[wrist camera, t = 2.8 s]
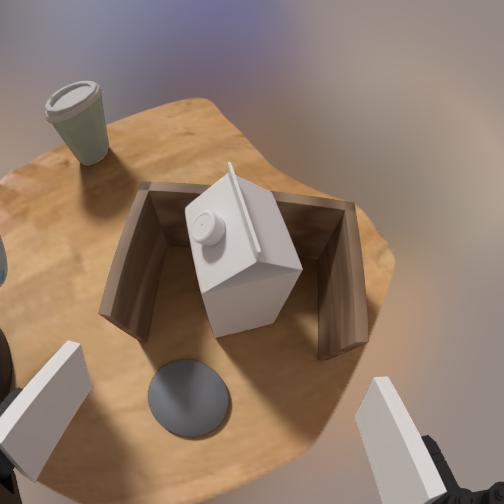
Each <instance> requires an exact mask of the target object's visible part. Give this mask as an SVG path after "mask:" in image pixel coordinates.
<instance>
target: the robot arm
mask: <svg viewBox="0 0 504 504" xmlns="http://www.w3.org/2000/svg"><path fill="white" fill-rule="evenodd" d="M6 276H7V257H6V252H5V248H4V245H3V242H2V239H1V236H0V287H1V285H2V284H3V283H4V281H5V279H6ZM10 384H11V358H10V352H9V347H8V344H7V341H6V338H5V336H4V334H3V332H2V330H1V329H0V504H22V501H21V498H20V493H19V489H18V485H17V480H16V476H15V473H14V471H13V469H14V467H16V469H17V470H18V471H19V472H20V473H21V474H22V475H24V476H26V477H27V478H29V479H30V480H32V481H33V482H36V480H37V478H38V476H39V474H40V473H41V471H42V469H43V467H44V465H45V464H46V462H47V460H48V458H49V457H50V455H51V453H52V452H53V450H54V448H55V446H56V445H57V443H58V441H59V440H60V438H61V436H62V435H63V433H64V431H65V430H66V428H67V427H68V425H69V423H70V422H71V420H72V419H73V417H74V415H75V414H76V412H77V411H78V409H79V407H80V406H81V404H82V403H83V401H84V400H85V398H86V397H87V395H88V394H89V392H90V390H91V389H92V387H93V386H92V383H91V380H90V376H89V373H88V370H87V366H86V362H85V359H84V355H83V351H82V347H81V344H79V343H76V342H72V341H69V340H68V341H67V342H66V343H65V344H64V345H63V346H62V347H61V348H60V349H59V350H58V351H57V353H56V354H55V355H54V356H53V357H52V358H51V359H50V360H49V361H48V362H47V363H46V364H45V365H44V367H43V368H42V369H41V370H40V371H39V372H38V373H37V374H36V375H35V377H34V378H33V379H32V380H31V381H30V382H29V383H28V385H27V386H26V387H25V388H24V389H21V388H17V389H16V390H14V391H12V392H10V393H9V389H10ZM8 393H9V395H8ZM355 420H356V423H357V426H358V429H359V432H360V434H361V437H362V440H363V443H364V446H365V449H366V452H367V455H368V458H369V461H370V464H371V468H372V471H373V474H374V477H375V480H376V483H377V487H378V490H379V493H380V496H381V500H382V503H383V504H504V482H497V483H495V484H494V485H493V486H492V487H490V489H488V490H484V491H478V492H471V491H470V490H468V489H464V488H460V487H459V486H458V484H457V482H456V480H455V478H454V476H453V474H452V472H451V470H450V468H449V466H448V464H447V462H446V461H445V460H444V456H443V454H442V453H441V450H440V449H439V447H438V445H437V443H436V442H435V441H434V440H433V439H432V438H431V437H430V436H429V435H426V436H422V437H421V436H420V435H419V433H418V431H417V429H416V427H415V425H414V423H413V421H412V419H411V417H410V416H409V414H408V412H407V410H406V408H405V406H404V404H403V403H402V401H401V399H400V397H399V395H398V394H397V392H396V390H395V388H394V386H393V385H392V383H391V381H390V379H389V378H388V376H384V377H374V378H373V379H372V382H371V384H370V386H369V388H368V390H367V393H366V395H365V397H364V399H363V401H362V403H361V405H360V407H359V409H358V411H357V413H356V415H355Z"/></svg>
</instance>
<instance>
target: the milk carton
mask: <svg viewBox="0 0 504 504" xmlns="http://www.w3.org/2000/svg"><path fill="white" fill-rule="evenodd" d="M185 216H186V222H187V228H188V233H189V239H190V244H191V249H192V254H193V259H194V264H195V269H196V274H197V278H198V283H199V287H200V291H201V295H202V298H203V302H204V305H205V308H206V312H207V315H208V318H209V322H210V325H211V328H212V331H213V334H214V337H215V338H217V337H222V336H226V335H230V334H234V333H238V332H242V331H246V330H250V329H254V328H258V327H262V326H266V325H269V324H273V323H274V321H275V320H276V318H277V316H278V314H279V312H280V311H281V309H282V307H283V305H284V303H285V301H286V300H287V298H288V296H289V294H290V292H291V290H292V289H293V287H294V285H295V283H296V281H297V279H298V277H299V275H300V274H301V272H302V270H303V268H302V266H301V263H300V260H299V258H298V255H297V253H296V250H295V248H294V245H293V243H292V240H291V238H290V235H289V233H288V230H287V228H286V225H285V223H284V220H283V218H282V215H281V213H280V211H279V208H278V206H277V203H276V201H275V199H274V196H273V194H272V192H270V191H268V190H266V189H264V188H262V187H260V186H258V185H256V184H253V183H251V182H249V181H247V180H245V179H243V178H240V177H238V176H236V175H235V173H234V170H233V167H232V164H231V162H228V173H227V174H226V175H225V176H224V177H222V178H221V179H220V180H218V181H217V182H216V183H215V184H213V185H212V186H211V187H210V188H208V189H207V190H206V191H205V192H203V193H202V194H201V195H200V196H199V197H197V198H196V199H195V200H194V201H193V202H191V203H190V204H189V205H188V206H187V207H186V208H185Z"/></svg>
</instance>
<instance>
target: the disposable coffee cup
mask: <svg viewBox="0 0 504 504" xmlns="http://www.w3.org/2000/svg"><path fill="white" fill-rule="evenodd" d="M101 91H102V89H101V87H100V86H99V85H98V84H96V83H94V82H93V81H80V82H76V83H73V84H70V85H67V86H66V87H64V88H62V89H60V90H58V91H57V92H56V93H55V94H53V95H52V96H51V97H50V99H49V100H48V101H47V103H46V105H45V108H46V111H45V115H46V119H47V121H48V122H49V123H52V124H53V126H54V127H55V129H56V130H57V132H58V133H59V135H60V136H61V137H62V139H63V140H64V142H65V143H66V144H67V146H68V147H69V149H70V150H71V151H72V153H73V154H74V155H75V157H76V158H77V159H78V161H79V162H80V163H81V164H83V165H86V166H90V165H93V164H97V163H98V162H99V161H101V160H102V159H104V157H105V156H106V155H107V153H108V148H109V142H108V136H107V130H106V124H105V118H104V110H103V103H102V96H101Z"/></svg>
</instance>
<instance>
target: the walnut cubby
mask: <svg viewBox="0 0 504 504" xmlns="http://www.w3.org/2000/svg"><path fill="white" fill-rule="evenodd" d="M211 186H212V185H200V184H185V183H167V182H144V181H142V182H141V185H140V187H139V190H138V192H137V195H136V197H135V200H134V202H133V205H132V207H131V210H130V212H129V215H128V218H127V221H126V223H125V226H124V229H123V232H122V235H121V237H120V240H119V243H118V246H117V249H116V252H115V256H114V259H113V262H112V265H111V269H110V272H109V275H108V279H107V282H106V286H105V290H104V293H103V297H102V301H101V305H100V309H99V313H98V314H100V315H101V316H102V317H104V318H105V319H107V320H108V321H110V322H111V323H112V324H114V325H115V326H117V327H118V328H120V329H121V330H123V331H124V332H126V333H127V334H129V335H130V336H132V337H133V338H135V339H137V340H139V341H144V342H147V339H148V334H149V328H150V323H151V318H152V312H153V307H154V302H155V298H156V293H157V288H158V284H159V279H160V275H161V271H162V266H163V262H164V258H165V254H166V250H167V246H168V245H175V246H185V247H191V244H190V239H189V233H188V228H187V222H186V216H185V208H186V207H187V206H188V205H189V204H190V203H191V202H193V201H194V200H195V199H196V198H197V197H199V196H200V195H201V194H202V193H203V192H205V191H206V190H207V189H208V188H210V187H211ZM270 192H272V194H273V196H274V199H275V201H276V203H277V206H278V208H279V211H280V213H281V215H282V218H283V220H284V223H285V225H286V228H287V230H288V233H289V235H290V238H291V240H292V243H293V245H294V248H295V250H296V253H297V255H298V258H303V259H313V260H317V267H318V360H328V359H331V358H333V357H336V356H338V355H341V354H343V353H345V352H348V351H350V350H352V349H354V348H357V347H359V346H361V345H363V344H365V343H368V342H369V338H368V316H367V301H366V289H365V278H364V268H363V259H362V251H361V243H360V236H359V229H358V223H357V216H356V210H355V204H354V203H353V202H347V201H341V200H334V199H328V198H321V197H314V196H307V195H299V194H291V193H283V192H275V191H270Z"/></svg>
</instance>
